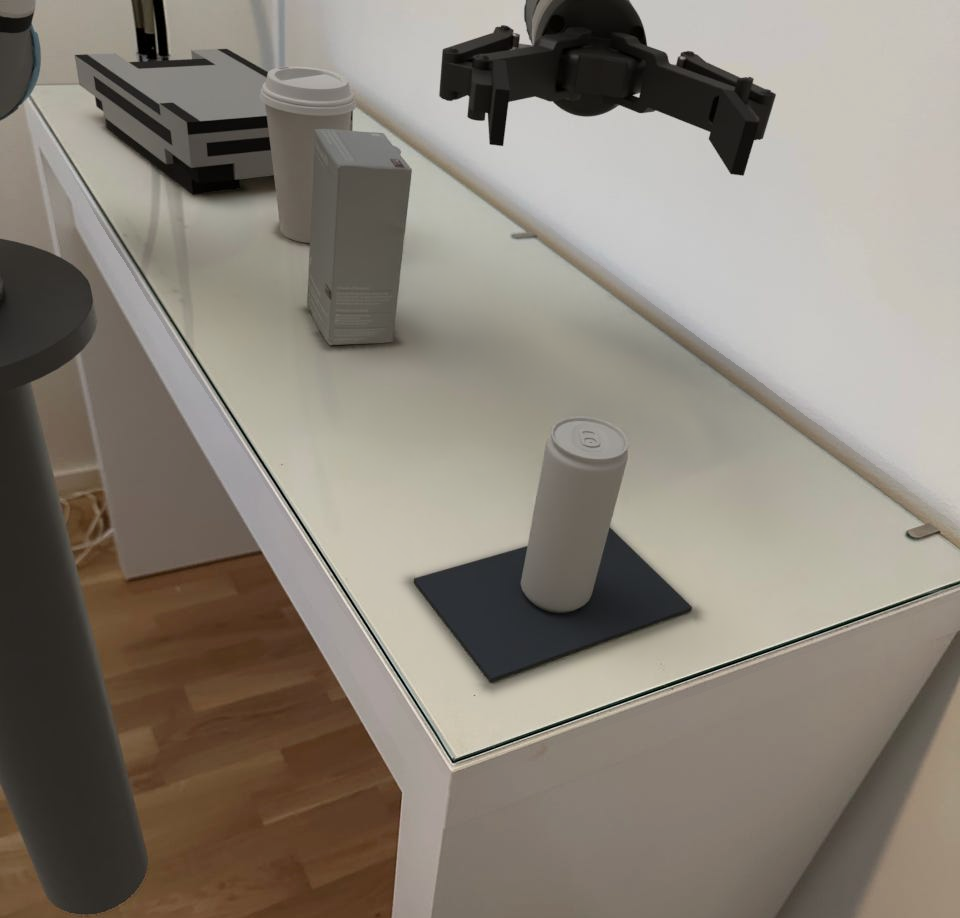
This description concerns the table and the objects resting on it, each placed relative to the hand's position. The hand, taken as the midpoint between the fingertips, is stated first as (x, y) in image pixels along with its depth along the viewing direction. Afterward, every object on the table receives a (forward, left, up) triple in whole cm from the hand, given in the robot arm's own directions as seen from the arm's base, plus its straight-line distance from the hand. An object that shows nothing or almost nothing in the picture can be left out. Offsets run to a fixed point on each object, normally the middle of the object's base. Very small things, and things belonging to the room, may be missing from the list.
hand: (623, 133), depth 50 cm
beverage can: (+8, -4, -26) cm, 27 cm away
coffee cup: (-54, +5, -26) cm, 61 cm away
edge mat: (+8, -4, -26) cm, 27 cm away
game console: (-83, +4, -26) cm, 87 cm away
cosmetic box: (-32, 0, -26) cm, 42 cm away
